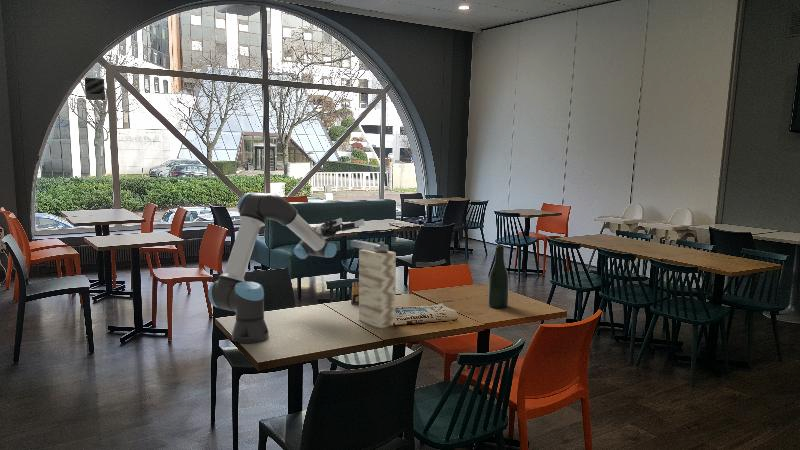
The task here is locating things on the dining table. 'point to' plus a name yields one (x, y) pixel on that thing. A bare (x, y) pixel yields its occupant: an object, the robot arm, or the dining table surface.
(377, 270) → the stand
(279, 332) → the dining table surface
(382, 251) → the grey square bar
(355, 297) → the ammunition clip
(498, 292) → the beer bottle
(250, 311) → the robot arm
